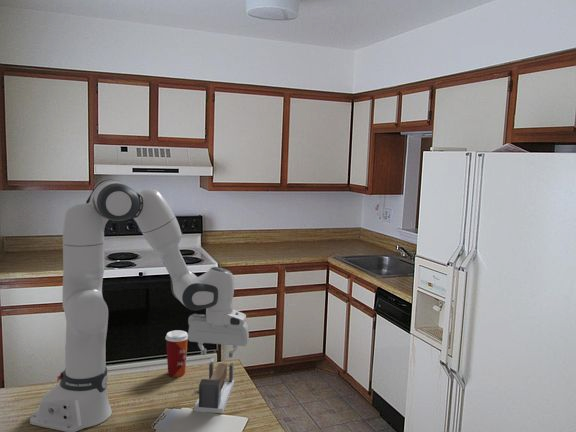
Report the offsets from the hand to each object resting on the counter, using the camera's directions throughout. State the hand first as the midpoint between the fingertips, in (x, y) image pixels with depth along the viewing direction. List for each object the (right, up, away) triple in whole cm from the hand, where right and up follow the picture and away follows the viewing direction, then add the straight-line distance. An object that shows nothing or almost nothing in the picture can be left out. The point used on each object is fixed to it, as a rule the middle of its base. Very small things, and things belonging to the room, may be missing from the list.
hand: (217, 355), depth 165 cm
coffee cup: (-17, -10, +13) cm, 24 cm away
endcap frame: (0, -13, -3) cm, 13 cm away
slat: (0, -11, +2) cm, 11 cm away
